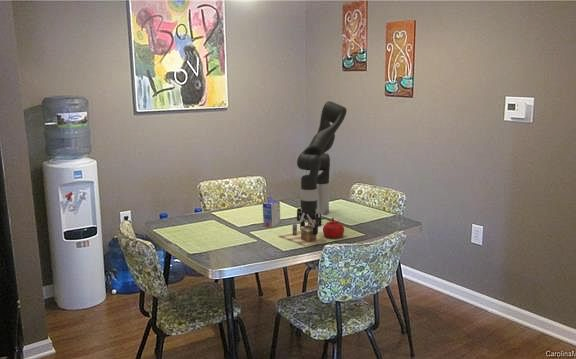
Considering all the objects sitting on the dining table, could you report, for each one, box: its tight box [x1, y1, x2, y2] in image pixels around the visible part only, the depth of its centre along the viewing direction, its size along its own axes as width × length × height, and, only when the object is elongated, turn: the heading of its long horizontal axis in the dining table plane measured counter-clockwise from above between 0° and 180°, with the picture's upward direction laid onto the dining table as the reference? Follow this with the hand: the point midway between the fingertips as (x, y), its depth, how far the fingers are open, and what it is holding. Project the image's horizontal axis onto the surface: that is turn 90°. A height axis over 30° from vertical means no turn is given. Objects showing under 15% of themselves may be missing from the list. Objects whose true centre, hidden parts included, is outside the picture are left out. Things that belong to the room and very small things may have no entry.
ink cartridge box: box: [262, 196, 281, 228], centre depth 274 cm, size 10×6×14 cm, turn 155°
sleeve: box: [300, 225, 318, 242], centre depth 246 cm, size 5×5×6 cm
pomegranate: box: [322, 217, 345, 239], centre depth 253 cm, size 10×10×9 cm
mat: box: [297, 222, 325, 234], centre depth 268 cm, size 16×14×1 cm
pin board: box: [277, 223, 327, 248], centre depth 250 cm, size 20×12×6 cm, turn 40°
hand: (308, 232), depth 246 cm, fingers open, 8 cm apart
